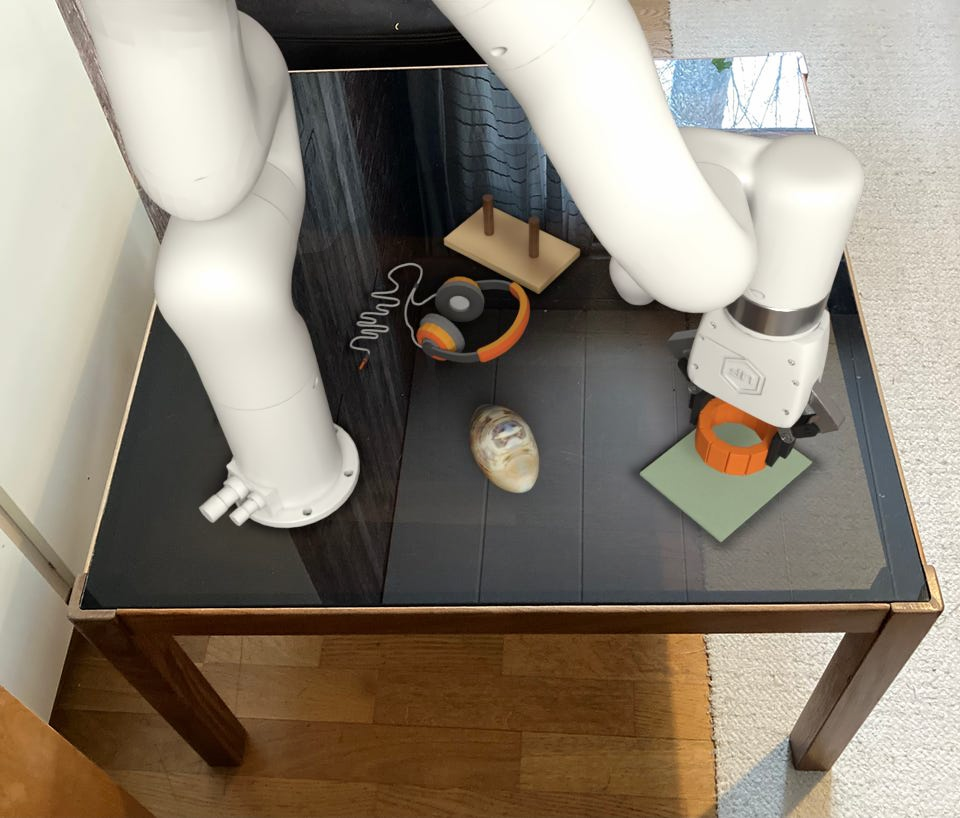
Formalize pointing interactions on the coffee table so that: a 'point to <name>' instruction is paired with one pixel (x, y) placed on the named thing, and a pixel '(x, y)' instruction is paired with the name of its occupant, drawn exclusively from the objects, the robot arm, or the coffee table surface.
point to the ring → (721, 452)
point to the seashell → (504, 448)
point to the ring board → (512, 247)
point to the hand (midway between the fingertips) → (737, 434)
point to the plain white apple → (627, 285)
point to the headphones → (454, 319)
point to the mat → (720, 481)
